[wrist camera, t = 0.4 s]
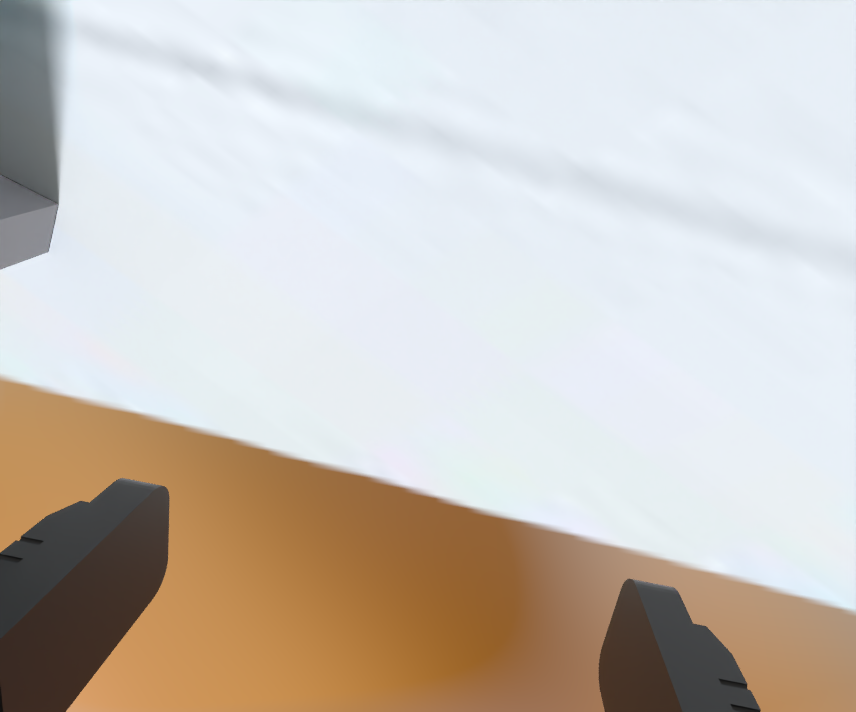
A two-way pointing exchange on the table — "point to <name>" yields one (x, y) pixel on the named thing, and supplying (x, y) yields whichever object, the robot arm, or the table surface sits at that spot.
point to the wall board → (23, 223)
